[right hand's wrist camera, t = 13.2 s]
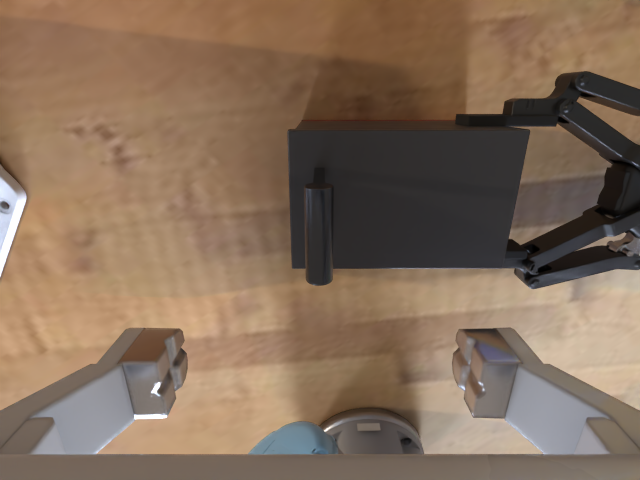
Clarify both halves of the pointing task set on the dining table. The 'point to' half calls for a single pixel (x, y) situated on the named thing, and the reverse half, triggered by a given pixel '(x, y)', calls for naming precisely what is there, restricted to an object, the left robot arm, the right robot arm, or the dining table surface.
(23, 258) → the dining table surface
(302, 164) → the lid
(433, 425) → the dining table surface
